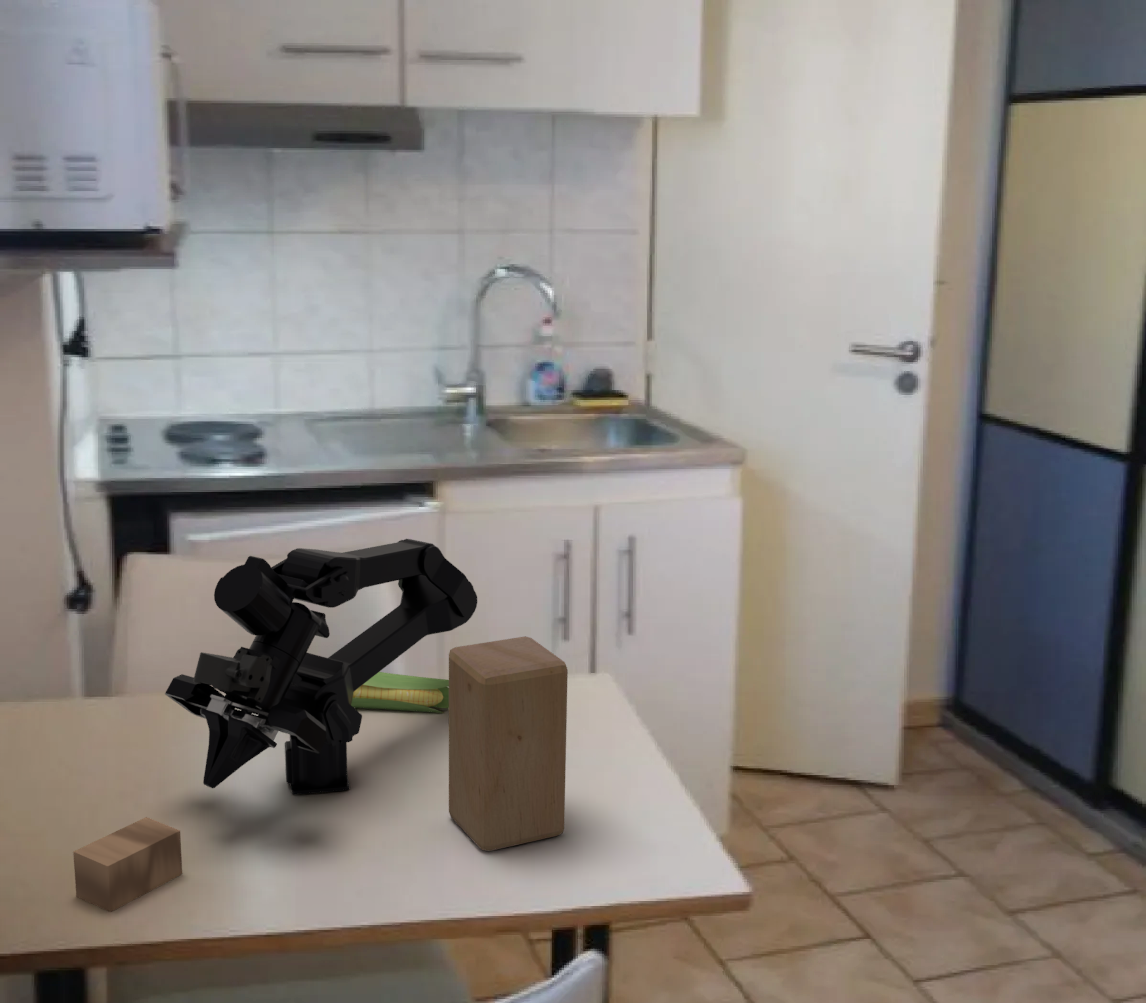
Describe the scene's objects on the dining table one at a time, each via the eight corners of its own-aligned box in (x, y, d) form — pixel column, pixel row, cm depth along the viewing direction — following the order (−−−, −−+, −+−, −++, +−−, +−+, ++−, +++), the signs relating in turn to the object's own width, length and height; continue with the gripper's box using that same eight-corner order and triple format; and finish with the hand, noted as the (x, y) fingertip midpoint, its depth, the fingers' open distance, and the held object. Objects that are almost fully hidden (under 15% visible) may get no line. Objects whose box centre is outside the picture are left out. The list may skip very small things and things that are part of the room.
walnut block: (146, 817, 150) (73, 851, 143) (180, 830, 148) (107, 866, 141) (148, 861, 152) (76, 897, 144) (182, 875, 149) (110, 913, 142)
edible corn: (325, 664, 195) (315, 667, 190) (474, 678, 193) (468, 681, 188) (321, 703, 195) (312, 707, 190) (470, 717, 193) (464, 721, 188)
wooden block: (482, 856, 154) (483, 676, 149) (445, 816, 162) (445, 645, 157) (567, 837, 158) (571, 662, 153) (527, 799, 167) (529, 632, 162)
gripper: (171, 604, 159) (99, 735, 153) (303, 638, 149) (231, 779, 143) (228, 649, 167) (161, 775, 161) (356, 684, 158) (290, 819, 152)
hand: (208, 786), depth 154 cm, fingers closed
